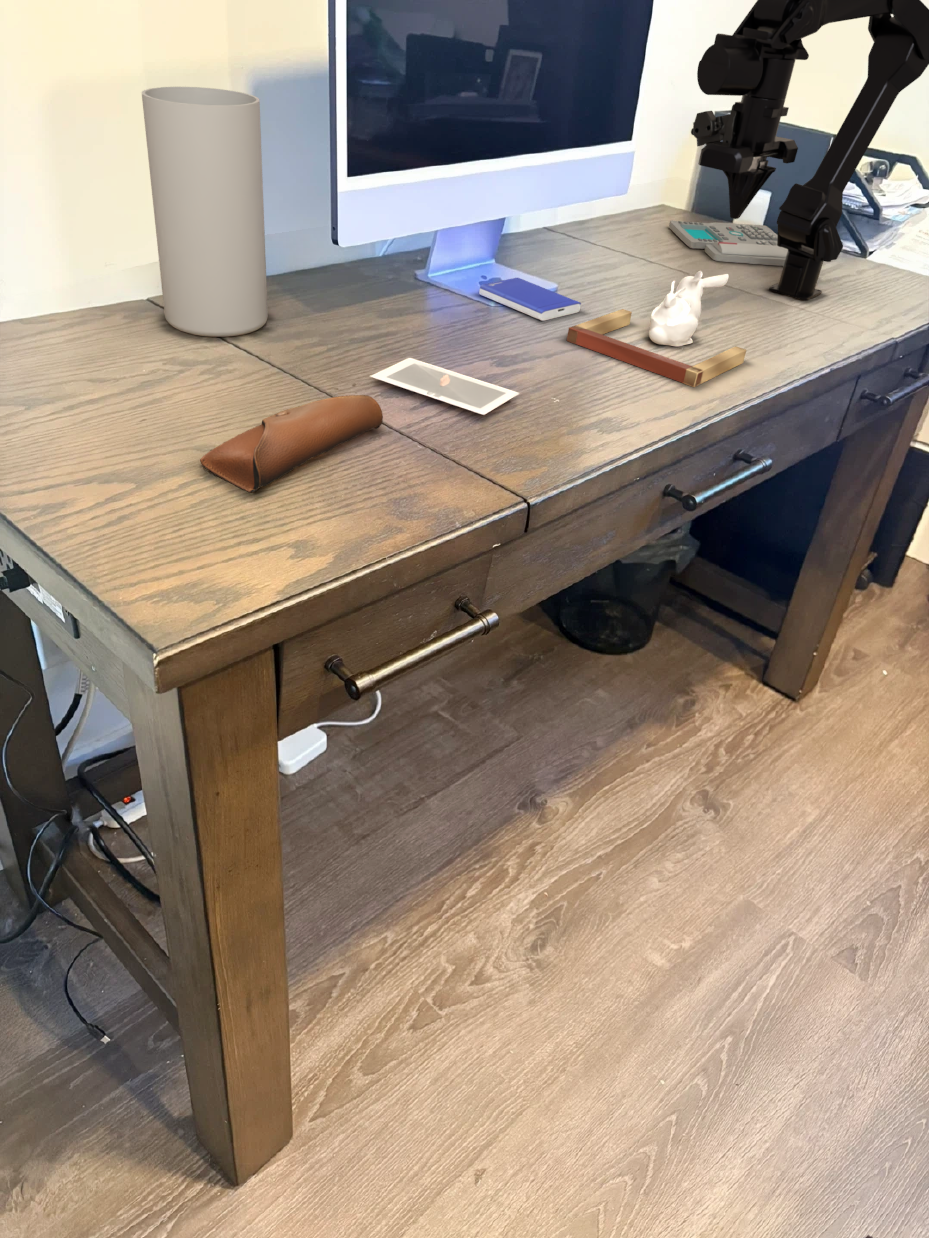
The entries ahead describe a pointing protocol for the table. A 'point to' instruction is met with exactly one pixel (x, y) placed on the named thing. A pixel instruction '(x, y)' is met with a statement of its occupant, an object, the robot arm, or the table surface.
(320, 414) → the sunglasses case
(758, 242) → the office telephone
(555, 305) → the hard drive
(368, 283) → the table surface
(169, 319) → the cylinder vase
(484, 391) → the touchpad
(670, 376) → the bay
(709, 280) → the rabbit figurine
